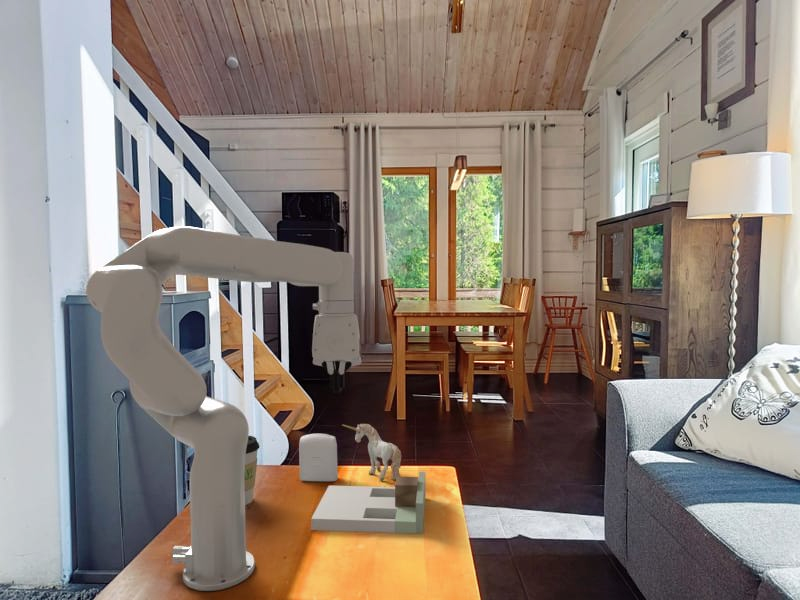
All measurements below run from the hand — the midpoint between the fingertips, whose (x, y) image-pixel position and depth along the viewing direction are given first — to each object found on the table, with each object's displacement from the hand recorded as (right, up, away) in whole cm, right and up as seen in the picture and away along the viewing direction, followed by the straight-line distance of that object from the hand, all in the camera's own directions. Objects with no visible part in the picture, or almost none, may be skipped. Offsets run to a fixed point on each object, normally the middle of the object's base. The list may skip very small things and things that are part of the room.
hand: (337, 391), depth 116 cm
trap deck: (+7, -29, +5) cm, 30 cm away
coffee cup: (-25, -29, +11) cm, 40 cm away
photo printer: (-8, -28, +25) cm, 39 cm away
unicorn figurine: (+6, -28, +26) cm, 39 cm away
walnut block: (+15, -26, +4) cm, 31 cm away
